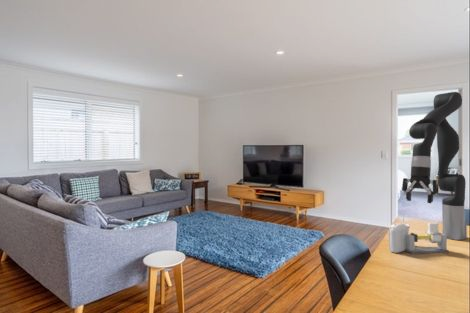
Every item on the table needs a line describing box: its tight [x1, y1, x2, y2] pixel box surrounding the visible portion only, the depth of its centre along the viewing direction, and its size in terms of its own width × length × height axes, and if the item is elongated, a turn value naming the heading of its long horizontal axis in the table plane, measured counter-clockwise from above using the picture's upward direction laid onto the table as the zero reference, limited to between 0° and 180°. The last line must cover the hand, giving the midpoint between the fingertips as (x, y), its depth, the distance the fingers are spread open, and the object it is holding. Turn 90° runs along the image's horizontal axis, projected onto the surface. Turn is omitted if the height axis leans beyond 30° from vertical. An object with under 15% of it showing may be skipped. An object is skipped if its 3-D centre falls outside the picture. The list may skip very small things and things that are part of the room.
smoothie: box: [401, 215, 410, 234], centre depth 139 cm, size 6×6×14 cm
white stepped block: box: [425, 222, 442, 244], centre depth 130 cm, size 4×4×8 cm
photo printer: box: [388, 222, 407, 254], centre depth 131 cm, size 10×4×12 cm, turn 124°
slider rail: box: [404, 232, 449, 255], centre depth 129 cm, size 17×5×8 cm, turn 93°
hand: (418, 202), depth 130 cm, fingers open, 8 cm apart
